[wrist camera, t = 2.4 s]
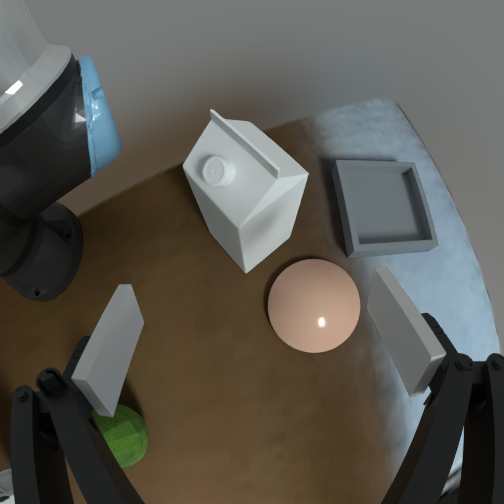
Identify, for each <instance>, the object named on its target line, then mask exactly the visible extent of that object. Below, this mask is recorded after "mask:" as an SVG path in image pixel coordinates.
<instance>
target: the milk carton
mask: <svg viewBox="0 0 504 504" xmlns="http://www.w3.org/2000/svg"><path fill="white" fill-rule="evenodd" d="M210 114H211V119H212V120H211V121H210V123H209V124H208V126H207V127H206V129H205V130H204V132H203V133H202V135H201V137H200V138H199V140H198V141H197V143H196V144H195V146H194V148H193V149H192V151H191V153H190V154H189V156H188V157H187V159H186V161H185V162H184V164H183V169H184V172H185V174H186V177H187V179H188V182H189V184H190V186H191V189H192V191H193V194H194V196H195V198H196V201H197V203H198V206H199V208H200V210H201V213H202V215H203V217H204V220H205V222H206V224H207V227H208V229H209V231H210V233H211V234H212V236H213V237H214V238H215V239H216V240H217V241H218V243H219V244H220V245H221V246H222V247H223V248H224V250H225V251H226V252H227V253H228V254H229V255H230V257H231V258H232V259H233V260H234V261H235V262H236V264H237V265H238V266H239V267H240V268H241V269H242V270H243V272H244V273H248V272H249V271H250V270H251V269H252V268H254V267H255V266H256V265H257V264H258V263H260V262H261V261H262V260H263V259H264V258H266V257H267V256H268V255H269V254H270V253H272V252H273V251H274V250H275V249H276V248H278V247H279V246H280V245H281V244H282V243H284V242H285V241H286V240H287V239H288V238H289V237H290V235H291V231H292V228H293V225H294V221H295V218H296V215H297V212H298V208H299V205H300V201H301V198H302V195H303V191H304V188H305V184H306V181H307V178H308V174H309V173H308V172H307V171H306V170H305V169H304V168H302V167H301V166H300V165H299V164H298V163H297V162H296V161H295V160H294V159H293V158H291V157H290V156H289V155H288V154H287V153H286V152H285V151H284V150H282V149H281V148H280V147H279V146H278V145H277V144H276V143H274V142H273V141H272V140H271V139H270V138H269V137H267V136H266V135H265V134H264V133H263V132H262V131H260V130H259V129H258V128H257V127H256V126H254V125H253V124H252V123H251V122H248V121H237V120H226V119H223V118H222V117H221V116H220V115H219V114H217V113H216V112H215V111H214V110H213V109H211V110H210Z"/></svg>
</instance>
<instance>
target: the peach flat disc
mask: <svg viewBox="0 0 504 504" xmlns="http://www.w3.org/2000/svg"><path fill="white" fill-rule="evenodd" d="M359 313H360V299H359V294H358V290H357V288H356V285H355V284H354V282H353V280H352V279H351V277H350V276H349V275H348V274H347V273H346V272H345V271H344V270H343V269H342V268H340V267H339V266H337V265H336V264H333V263H331V262H328V261H325V260H320V259H308V260H303V261H300V262H297V263H295V264H293V265H291V266H289V267H288V268H286V269H285V270H284V271H283V272H282V273H281V274H280V275H279V276H278V277H277V279H276V280H275V282H274V284H273V286H272V288H271V291H270V294H269V299H268V315H269V319H270V322H271V325H272V327H273V329H274V331H275V332H276V333H277V335H278V336H279V337H280V338H281V339H282V340H283V341H284V342H285V343H286V344H288V345H289V346H291V347H293V348H295V349H297V350H301V351H304V352H311V353H317V352H324V351H328V350H330V349H333V348H335V347H337V346H338V345H340V344H341V343H343V342H344V341H345V340H346V339H347V338H348V337H349V336H350V334H351V333H352V332H353V330H354V328H355V326H356V324H357V321H358V318H359Z"/></svg>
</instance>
